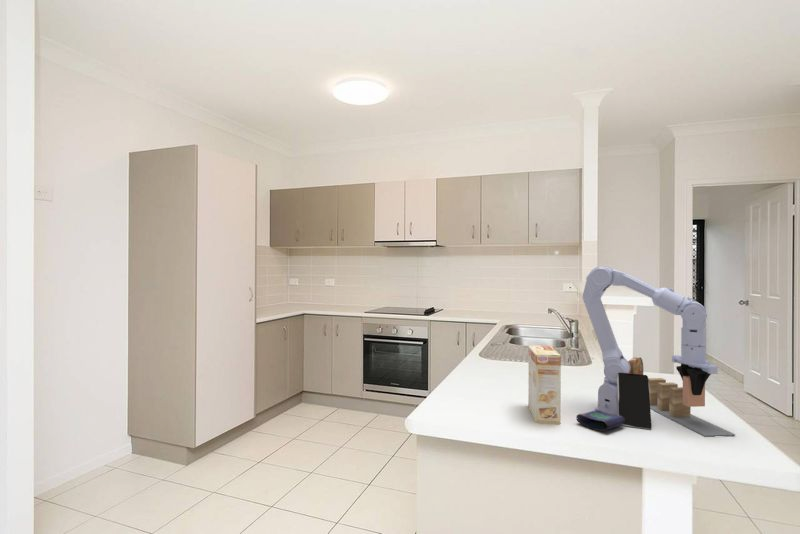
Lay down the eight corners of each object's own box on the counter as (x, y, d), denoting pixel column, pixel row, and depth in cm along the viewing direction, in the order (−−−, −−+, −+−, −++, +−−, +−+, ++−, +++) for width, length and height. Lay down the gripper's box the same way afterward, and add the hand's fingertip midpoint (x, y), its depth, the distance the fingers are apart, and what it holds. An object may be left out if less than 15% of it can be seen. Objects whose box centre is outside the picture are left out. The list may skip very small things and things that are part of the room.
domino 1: (665, 405, 136) (665, 379, 136) (650, 405, 135) (650, 380, 135) (661, 403, 138) (661, 378, 138) (646, 403, 137) (646, 378, 137)
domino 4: (704, 406, 120) (705, 377, 120) (687, 406, 120) (688, 377, 120) (699, 404, 122) (699, 375, 122) (682, 404, 122) (682, 376, 122)
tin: (634, 385, 160) (634, 362, 160) (625, 383, 162) (625, 361, 162) (644, 377, 171) (644, 356, 171) (635, 376, 173) (635, 355, 173)
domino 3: (690, 416, 125) (690, 389, 125) (674, 417, 125) (674, 389, 125) (685, 414, 127) (685, 387, 127) (669, 414, 127) (669, 387, 127)
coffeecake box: (561, 425, 120) (561, 355, 120) (534, 424, 121) (534, 354, 121) (551, 408, 134) (551, 345, 134) (527, 406, 136) (527, 344, 135)
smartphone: (618, 424, 119) (616, 372, 126) (618, 425, 120) (616, 373, 127) (652, 429, 116) (648, 375, 123) (651, 430, 117) (647, 376, 124)
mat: (735, 436, 112) (735, 434, 112) (704, 437, 112) (704, 435, 112) (650, 396, 146) (650, 395, 146) (626, 397, 145) (626, 396, 145)
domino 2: (677, 410, 131) (677, 384, 131) (661, 411, 130) (661, 384, 130) (672, 408, 133) (673, 382, 133) (657, 408, 132) (657, 382, 132)
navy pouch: (575, 413, 120) (598, 408, 126) (575, 423, 120) (598, 418, 126) (607, 421, 112) (629, 415, 118) (607, 433, 112) (629, 426, 118)
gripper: (728, 349, 114) (728, 401, 114) (687, 340, 129) (687, 385, 129) (703, 350, 114) (703, 401, 114) (665, 340, 128) (665, 386, 128)
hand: (693, 393), depth 121 cm, fingers closed on domino 4, 2 cm apart
